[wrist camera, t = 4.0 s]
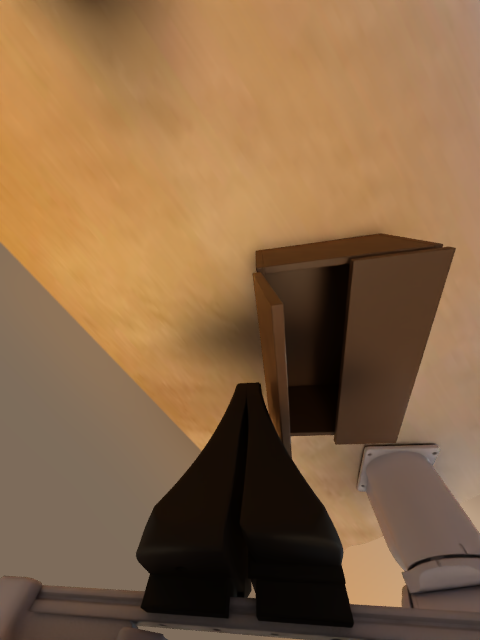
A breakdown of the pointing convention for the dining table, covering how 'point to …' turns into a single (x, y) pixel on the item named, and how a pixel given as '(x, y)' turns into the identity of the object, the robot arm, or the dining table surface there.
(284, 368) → the flap
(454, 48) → the dining table surface
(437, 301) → the carton
